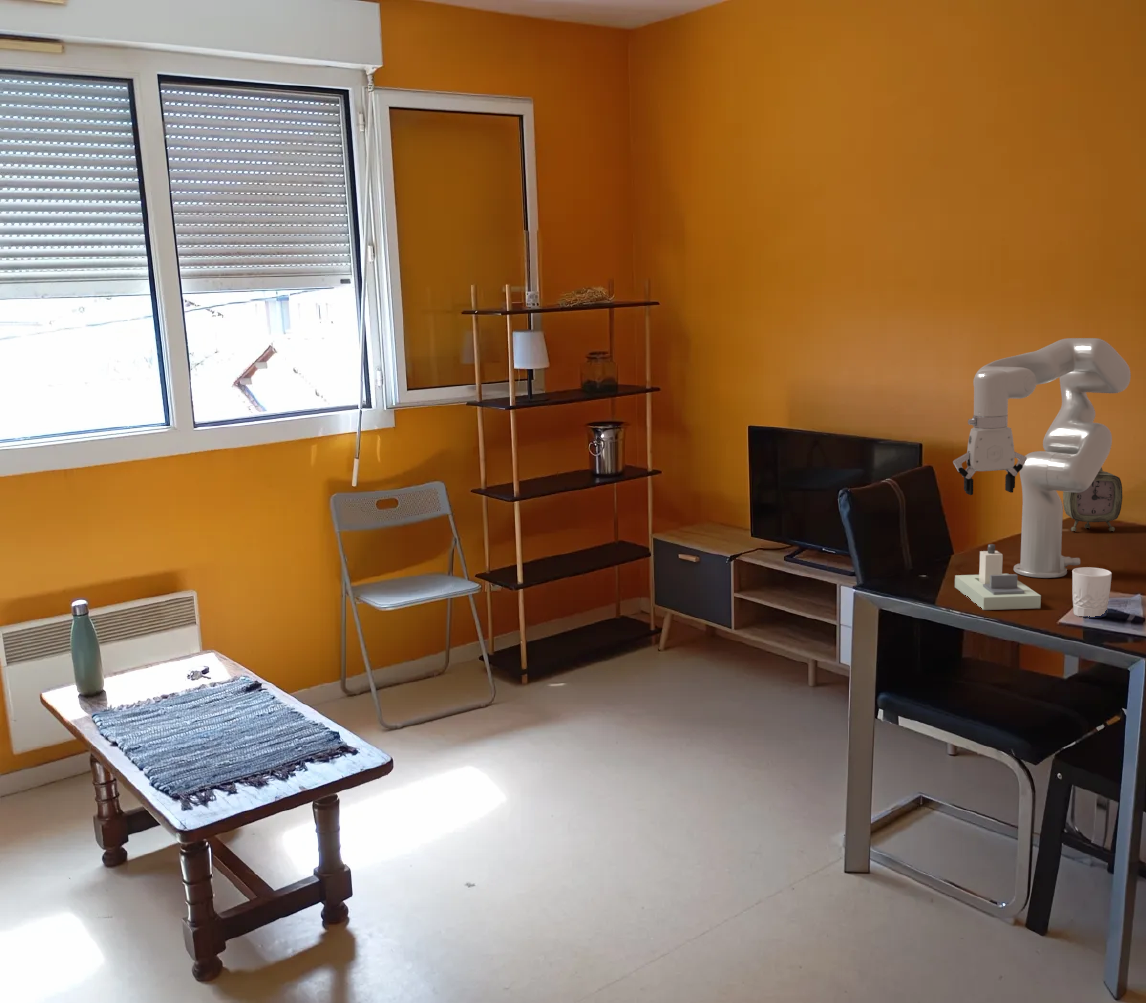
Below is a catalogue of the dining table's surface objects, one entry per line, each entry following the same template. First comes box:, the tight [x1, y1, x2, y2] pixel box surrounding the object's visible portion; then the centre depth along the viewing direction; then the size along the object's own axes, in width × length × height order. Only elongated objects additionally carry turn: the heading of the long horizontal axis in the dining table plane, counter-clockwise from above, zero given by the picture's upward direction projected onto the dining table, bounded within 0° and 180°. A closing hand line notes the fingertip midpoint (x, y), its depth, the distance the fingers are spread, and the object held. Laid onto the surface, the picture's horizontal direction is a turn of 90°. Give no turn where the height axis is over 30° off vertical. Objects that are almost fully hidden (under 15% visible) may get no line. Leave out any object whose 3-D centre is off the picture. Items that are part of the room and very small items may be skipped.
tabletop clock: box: [1062, 466, 1123, 532], centre depth 312 cm, size 14×9×25 cm, turn 80°
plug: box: [978, 543, 1004, 584], centre depth 253 cm, size 4×4×12 cm
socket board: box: [954, 573, 1042, 611], centre depth 250 cm, size 13×20×3 cm, turn 178°
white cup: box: [1071, 566, 1113, 617], centre depth 233 cm, size 8×8×10 cm
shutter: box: [983, 573, 1024, 594], centre depth 245 cm, size 7×7×4 cm
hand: (989, 492), depth 252 cm, fingers open, 9 cm apart
